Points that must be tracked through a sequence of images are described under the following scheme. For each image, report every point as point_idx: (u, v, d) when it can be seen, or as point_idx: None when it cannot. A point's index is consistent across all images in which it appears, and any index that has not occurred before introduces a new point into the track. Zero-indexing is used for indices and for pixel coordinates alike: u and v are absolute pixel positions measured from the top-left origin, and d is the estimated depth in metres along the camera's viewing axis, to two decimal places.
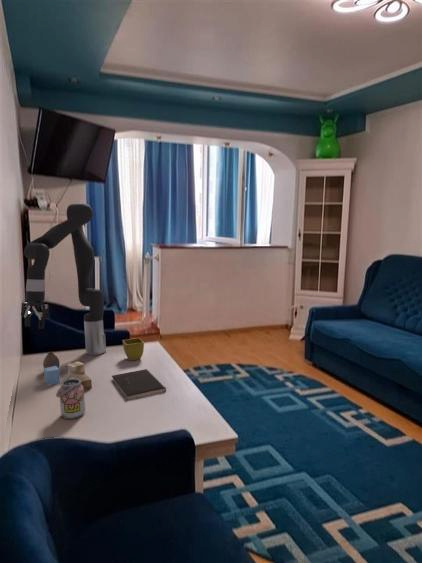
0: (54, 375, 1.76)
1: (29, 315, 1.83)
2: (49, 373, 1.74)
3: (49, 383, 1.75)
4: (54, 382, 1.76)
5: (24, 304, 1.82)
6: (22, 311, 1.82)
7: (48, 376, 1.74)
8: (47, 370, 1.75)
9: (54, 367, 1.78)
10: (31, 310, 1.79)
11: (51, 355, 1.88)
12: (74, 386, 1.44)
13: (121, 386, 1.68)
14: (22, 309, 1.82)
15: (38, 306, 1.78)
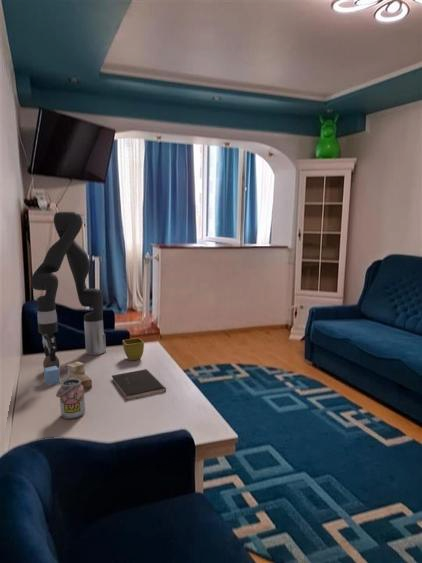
0: (54, 375, 1.76)
1: None
2: (49, 373, 1.74)
3: (49, 383, 1.75)
4: (54, 382, 1.76)
5: (43, 333, 1.79)
6: (42, 340, 1.80)
7: (48, 376, 1.74)
8: (47, 370, 1.75)
9: (54, 367, 1.78)
10: (45, 341, 1.75)
11: None
12: (74, 386, 1.44)
13: (121, 386, 1.68)
14: (42, 338, 1.80)
15: (48, 338, 1.71)
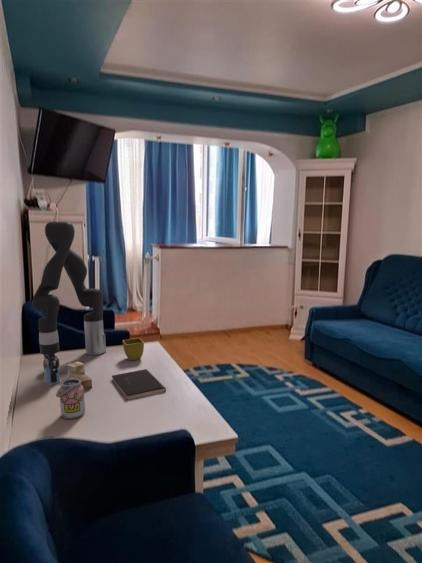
0: None
1: None
2: (49, 373, 1.74)
3: (49, 383, 1.75)
4: (54, 382, 1.76)
5: (45, 355, 1.80)
6: None
7: (48, 376, 1.74)
8: (47, 370, 1.75)
9: None
10: None
11: None
12: (74, 386, 1.44)
13: (121, 386, 1.68)
14: None
15: (49, 361, 1.73)
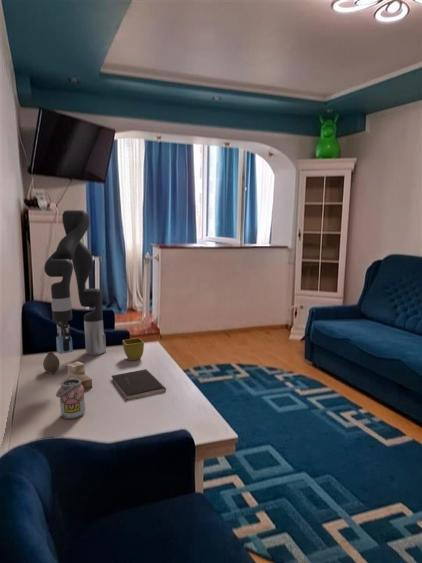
0: None
1: None
2: (61, 341, 1.68)
3: (61, 352, 1.68)
4: (66, 351, 1.69)
5: (58, 324, 1.74)
6: (57, 331, 1.74)
7: (60, 344, 1.68)
8: (59, 338, 1.68)
9: None
10: (60, 329, 1.70)
11: (51, 355, 1.88)
12: (74, 386, 1.44)
13: (121, 386, 1.68)
14: (57, 329, 1.74)
15: (62, 328, 1.66)
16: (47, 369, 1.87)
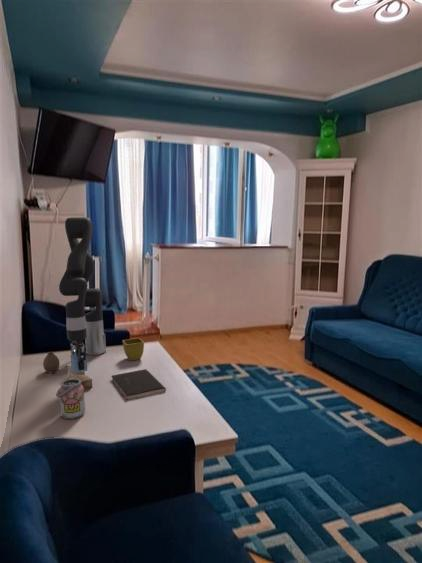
0: None
1: (78, 354, 1.72)
2: (76, 360, 1.67)
3: (76, 371, 1.67)
4: (81, 370, 1.68)
5: (71, 342, 1.73)
6: (71, 349, 1.73)
7: (75, 363, 1.67)
8: (74, 357, 1.68)
9: None
10: None
11: (51, 355, 1.88)
12: (74, 386, 1.44)
13: (121, 386, 1.68)
14: (71, 347, 1.73)
15: (77, 347, 1.66)
16: (47, 369, 1.87)
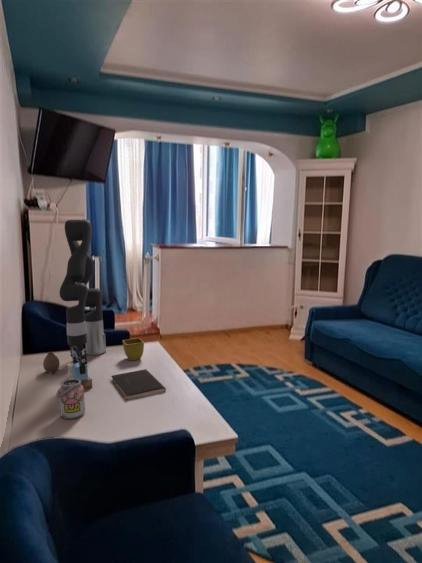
0: None
1: None
2: (77, 369, 1.68)
3: None
4: (82, 378, 1.69)
5: None
6: (71, 352, 1.74)
7: (76, 372, 1.68)
8: (75, 366, 1.68)
9: None
10: (75, 353, 1.70)
11: (51, 355, 1.88)
12: (74, 386, 1.44)
13: (121, 386, 1.68)
14: (70, 350, 1.74)
15: (77, 351, 1.66)
16: (47, 369, 1.87)
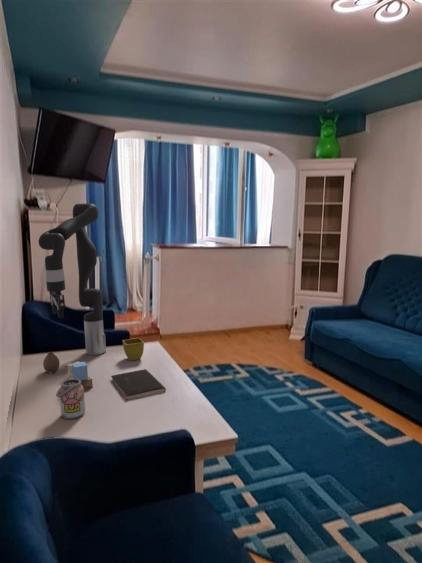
0: (82, 371, 1.69)
1: None
2: (77, 369, 1.68)
3: None
4: (82, 378, 1.69)
5: (51, 292, 1.86)
6: (50, 299, 1.87)
7: (76, 372, 1.68)
8: (75, 366, 1.69)
9: (82, 363, 1.72)
10: None
11: (51, 355, 1.88)
12: (74, 386, 1.44)
13: (121, 386, 1.68)
14: (50, 297, 1.87)
15: (56, 296, 1.79)
16: (47, 369, 1.87)
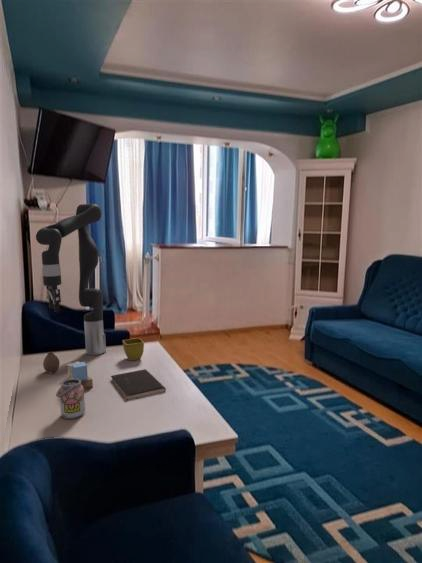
0: (82, 371, 1.69)
1: None
2: (77, 369, 1.68)
3: None
4: (82, 379, 1.69)
5: None
6: (47, 294, 1.90)
7: (76, 372, 1.68)
8: (75, 366, 1.68)
9: (82, 363, 1.72)
10: None
11: (51, 355, 1.88)
12: (74, 386, 1.44)
13: (121, 386, 1.68)
14: (47, 292, 1.90)
15: (52, 290, 1.82)
16: (47, 369, 1.87)
